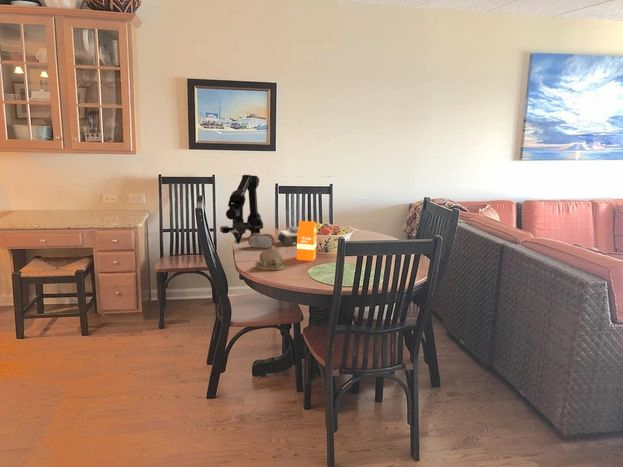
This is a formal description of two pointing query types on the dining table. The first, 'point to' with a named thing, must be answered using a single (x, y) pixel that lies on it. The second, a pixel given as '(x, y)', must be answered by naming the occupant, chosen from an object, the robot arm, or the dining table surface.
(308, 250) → the orange juice
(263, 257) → the ceramic model
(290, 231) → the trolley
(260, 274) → the dining table surface
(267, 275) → the dining table surface
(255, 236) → the tin
